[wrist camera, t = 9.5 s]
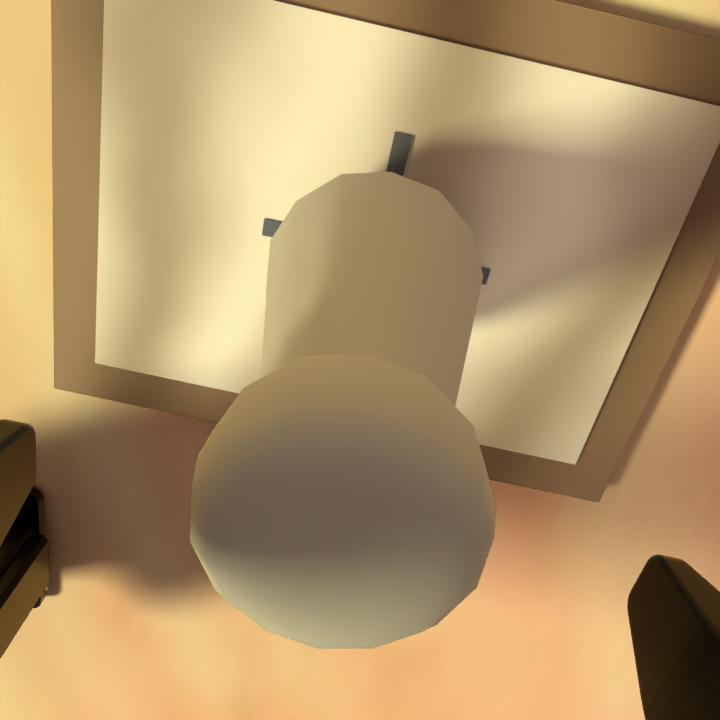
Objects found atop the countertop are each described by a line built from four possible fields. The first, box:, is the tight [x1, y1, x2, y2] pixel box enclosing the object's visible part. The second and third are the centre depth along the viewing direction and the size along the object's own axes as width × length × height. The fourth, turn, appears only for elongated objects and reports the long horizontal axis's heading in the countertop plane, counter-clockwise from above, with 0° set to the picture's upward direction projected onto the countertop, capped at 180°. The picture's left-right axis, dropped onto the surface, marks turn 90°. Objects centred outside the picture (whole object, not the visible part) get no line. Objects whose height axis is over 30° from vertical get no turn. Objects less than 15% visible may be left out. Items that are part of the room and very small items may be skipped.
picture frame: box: [51, 0, 720, 502], centre depth 20 cm, size 20×15×1 cm
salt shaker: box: [190, 172, 496, 649], centre depth 14 cm, size 6×6×13 cm
